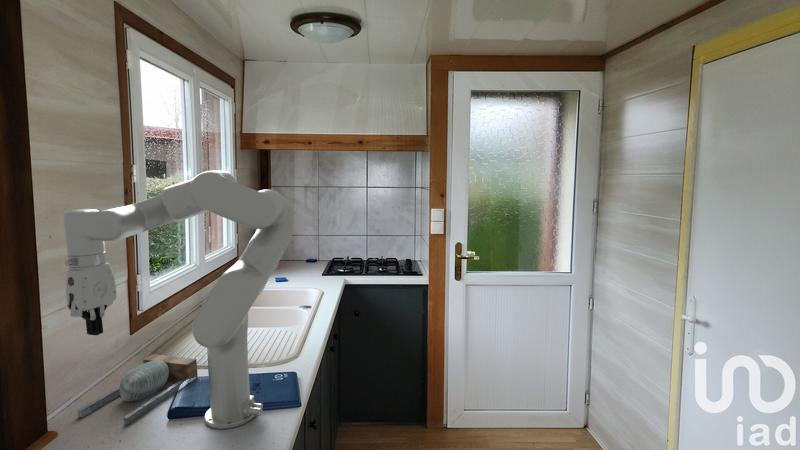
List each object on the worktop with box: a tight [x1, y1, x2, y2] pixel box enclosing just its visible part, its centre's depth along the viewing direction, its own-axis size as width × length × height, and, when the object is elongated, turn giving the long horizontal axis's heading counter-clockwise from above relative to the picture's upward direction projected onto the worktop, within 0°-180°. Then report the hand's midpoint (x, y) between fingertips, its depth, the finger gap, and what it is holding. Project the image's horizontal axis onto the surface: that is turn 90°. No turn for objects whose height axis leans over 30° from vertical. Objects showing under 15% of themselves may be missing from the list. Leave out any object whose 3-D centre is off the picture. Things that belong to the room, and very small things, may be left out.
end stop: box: [142, 353, 199, 383], centre depth 138 cm, size 15×4×6 cm, turn 76°
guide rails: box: [76, 377, 188, 426], centre depth 126 cm, size 15×22×2 cm
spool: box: [119, 360, 169, 403], centre depth 129 cm, size 14×10×10 cm
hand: (95, 333), depth 113 cm, fingers closed
